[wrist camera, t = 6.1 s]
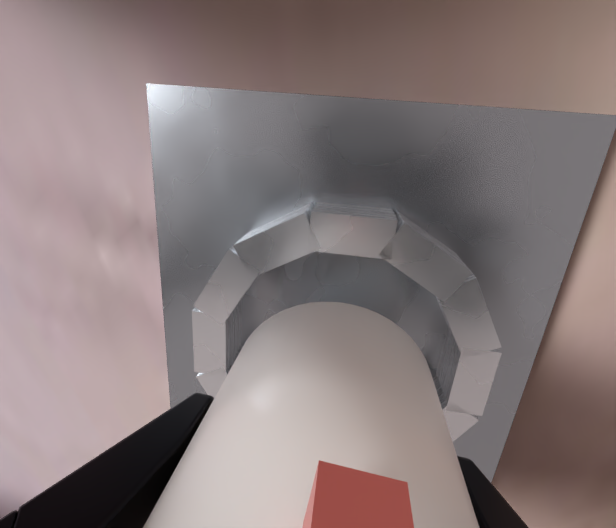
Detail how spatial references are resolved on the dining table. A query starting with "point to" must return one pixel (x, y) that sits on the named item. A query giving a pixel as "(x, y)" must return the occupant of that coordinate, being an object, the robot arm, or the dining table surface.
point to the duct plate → (371, 231)
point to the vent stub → (321, 433)
